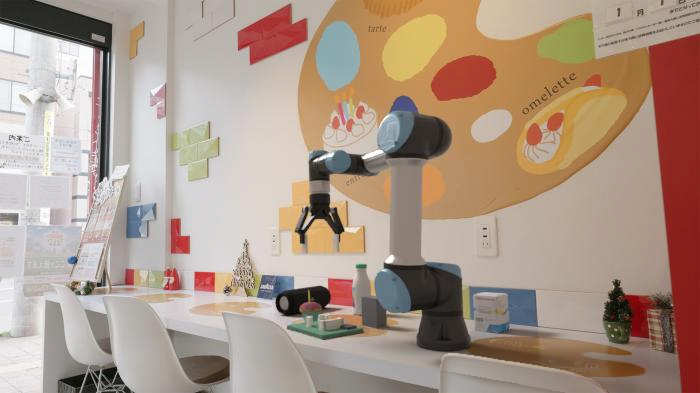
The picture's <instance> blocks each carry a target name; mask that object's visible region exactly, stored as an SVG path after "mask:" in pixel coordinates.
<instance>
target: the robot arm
mask: <svg viewBox="0 0 700 393" xmlns="http://www.w3.org/2000/svg"><path fill="white" fill-rule="evenodd" d="M452 142H453V132H452V129H451V127H450V126H449V124H448V123H447V122H446V121H445V120H444V119H442V118H440V117H437V116H435V115H434V116H433V115H428V114H422V113H418V112H413V111H410V110H393V111H391V112H389V113H387V115H385V116H384V117H383V120H382V121H381V122H380V125H379V127H378V129H377V135H376V143H377V146H378V148H377V149H374V150H371V151H369V152H366V153H363V154H357V153H356V154H355V153H348V152H347V151H345V150H343V149H335V150H333V151H330V152H329V151H327V150H323V149H318V150H317V149H316V150H311V151H310V152H309V154H308V163H307V164H308V182H309V183H308V184H309V185H308V186H309V188H308V189H309V190H308V192H309V193H310V195H309V196H308V197H309V205H310V206H309V205H305V206H302V208H301V214H300V217H299V219H298V221H297V223H296V226H295V229H294V233H296V234H297V235H298V236H299V244H300V245H301V254H308V252H309V251H308V250H309V247H308V242H309V240H308V234H307V232H308V230H309V229H310V227H311V226H312V224H313V223H314V222H315V220H324V221H325V222H326V224H328V226H329V227H330V229H331V231H332V232H333V234H332V252H333V253H340V243H341V235H342V233H345V227H344V226H343V225H344V224H343V222H342V221H341V218H340V216H339V213H338V207H337V206H334V207H330V205H331V194H330V193H331V181H330V179H331V177H330V176H331V175H344V176H345V175H347V176H348V175H349V176H359V177H361V176H363V177H367V178H368V177H376V176H378V175H379V173H380V172H382V171H384V170H388V169H390V193H389V194H390V195H389V196H390V199H389V202H390V203H389V208H390V209H389V250H388V251H389V253H388V256H387V257H386V258H385V259H384V260H383V269H381V270H379V271H377V274H376V275H375V277H374V283H373V288H374V293H375V296H376V297H377V299H378V301H379V302H380V304H381V306H382V307H383V308H384V309H385V310H386V312H387V313H391V314H407V313H411V312H415V311H421V319H420V321H419V322H420V323H419V326H418V327H419V328H418V332H417V333H416V345H417V346H418V347H420V348H423V349H427V350H432V351H433V350H434V351H460V350H466V349H469V348H470V347H471V346H472V342H471V341H472V339H471V335H470V333H469V330H468V327H467V324H466V321H465V318H464V301H463V297H464V296H463V277H462V269H461V267H460V265H459V264H456V263H449V262H448V263H447V262H437V261H426V260H425V259H424V258H423V257H422V226H423V224H422V219H423V218H422V217H423V215H422V213H423V210H422V209H423V169H424V166H426V164H428V163H429V160H432V159H435V158H436V159H437V158H439V157H441V156H443V155H444V154H446V153H447V151H448V150H449V149H450V147H451V145H452ZM309 213H310V214H309ZM308 215H309V216H308ZM307 217H308V219H307Z"/></svg>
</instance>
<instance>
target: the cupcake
mask: <svg viewBox="0 0 700 393" xmlns="http://www.w3.org/2000/svg"><path fill="white" fill-rule="evenodd" d="M308 300H309V302H306V303H304V304H302V305H301V306H300V312H302V313H301V314H302V317H303V320H304V321H305V317H307V316H313V321H318V315H321V314H320V313H321V312H322V311H323V308H322V307H321V305H320V304H318V303H316V302H310V291H309V289H308Z"/></svg>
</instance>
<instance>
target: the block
mask: <svg viewBox="0 0 700 393" xmlns="http://www.w3.org/2000/svg"><path fill="white" fill-rule="evenodd" d="M387 322H388V320H387V311H386V310H385V309H384V308H383V307H382V306H381V304H380V302H379V301H378V299H377V297H376V295H372V294H371V296H363V297H362V315H361V326H362V325H363V327H368V328H371V329H377V330H378V329H383V328H387V326H388V324H387Z"/></svg>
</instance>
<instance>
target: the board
mask: <svg viewBox="0 0 700 393" xmlns="http://www.w3.org/2000/svg"><path fill="white" fill-rule="evenodd" d="M329 318H330V315H329V314H325V313H322V314H319V315H318V320H317V321H313V316H307V317H305V320H304V322H299V323H292V324H286V325H287V326H286V329H287V330H290V331H293V332H297V333H300V334H303V335H307V336H308V337H309V336H310V337H313V338H317V339H320V340H328V339H331V338H333V339H334V338H337V337H342V336H348V335H352V334H353V335H354V334H361V333H363V332H364V328H363V327H360V326H359V327H358V326H357V325H355V324H352V323H344V322H345V321H344V317H340V316H338V317H335V318H332V319H329Z"/></svg>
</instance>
